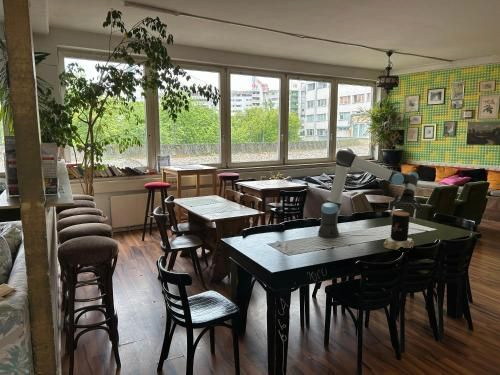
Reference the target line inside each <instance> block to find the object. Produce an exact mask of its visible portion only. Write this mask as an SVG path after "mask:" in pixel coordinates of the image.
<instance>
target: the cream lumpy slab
mask: <svg viewBox="0 0 500 375" xmlns="http://www.w3.org/2000/svg"><path fill="white" fill-rule="evenodd" d="M414 243H415V241H414V240H413V238H409V237H408V239H407V240H406V241H396V240H393V239H392V238H391V235H389V236H388V237H387V238H386V239H385V241H384V242H383V248H385V249H390V250H396V251H398V250H397V249H398V248H400V247H403V248H411V247H412V248H414V245H415V244H414Z"/></svg>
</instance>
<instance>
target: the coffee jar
mask: <svg viewBox="0 0 500 375" xmlns="http://www.w3.org/2000/svg"><path fill="white" fill-rule="evenodd" d="M391 214H393V215H391V226H390V236H391V238H392V239H393V240H396V241H406V240H407V239H408V238H409V227H410V215H411V214H410V212H406V211H399V210H397V211H394V212H391Z"/></svg>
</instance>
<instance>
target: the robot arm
mask: <svg viewBox="0 0 500 375" xmlns="http://www.w3.org/2000/svg"><path fill="white" fill-rule="evenodd" d="M335 154H336V155H335V158H336V159H335V166H336V169H335V173H334V177H333V182H332V184H331V189H330V193H329V197H328V198H326V202H325V203H322V205H321V208H320V209H321V213H320V214H321V216H320V226H319V229H318V233H317V236H319V237H320V238H328V239H335V238H338V237H339V236H340V232H339V228H338V217H339V215H340V214H341V210H342V206H343V205H342V204H343V201H342V196H343V193H344V192H343V191H344V188H345V183H346V180H347V176H348V173H349V170H350V169H351V168H356V169H358V170H361V171H363V172H365V173H368V174H370V175H373V176H375V177H377V178H380V179H381V180H382V179H383V180H385V181H387V182H389V183H392V184H393V185H395V186H399V185H404V188H403V191H402V195H399V194H397V195H396V197H395V198H394V199H393V200H392V201H391V202H390V203H389V208H391V209H390V211H391V216H392V215H393V214H392V212H394V211H395V210H396V208H397V207H398V206H400V205H401V204H410V205H411V206H412V207H413V208H414V212H413V216H412V219H413V220H416V216H418V214H419V212H422V206H421V204H420V201H419V197H418V196H417V197H415V194H416V189H417V186H418V182H419V174H418V173H417V172H415V171H413V172H408V173H404V172H402V171H401V172H400V171H397V170H392V169H389V168H386V167H384V166H381V165H378V164H377V163H374V162H372V161H369V160H367V159H364V158H361V157H359V156H358V154H355V153H354V151H353V150H352V149H351V148H349V147H343V148H340V149H338V151H337V152H336V153H335ZM414 201H415V202H416V203H415V202H414ZM416 204H417V205H416Z"/></svg>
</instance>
